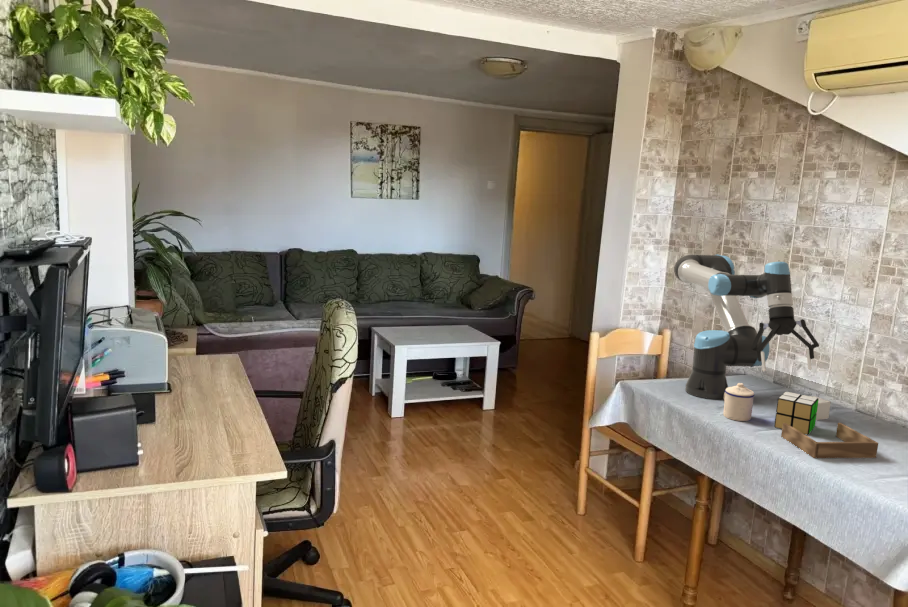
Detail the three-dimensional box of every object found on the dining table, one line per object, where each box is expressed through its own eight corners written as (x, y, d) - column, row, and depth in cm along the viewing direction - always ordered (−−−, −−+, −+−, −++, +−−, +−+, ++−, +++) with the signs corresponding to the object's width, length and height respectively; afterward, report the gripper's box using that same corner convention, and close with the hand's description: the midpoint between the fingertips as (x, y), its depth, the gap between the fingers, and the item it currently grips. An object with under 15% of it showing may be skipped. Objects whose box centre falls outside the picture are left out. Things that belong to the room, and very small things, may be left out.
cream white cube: (828, 418, 217) (830, 401, 216) (815, 420, 215) (818, 403, 214) (812, 412, 222) (815, 396, 221) (800, 414, 220) (802, 397, 219)
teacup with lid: (757, 421, 212) (761, 387, 210) (733, 422, 210) (737, 388, 208) (735, 408, 224) (738, 376, 222) (711, 410, 222) (715, 377, 220)
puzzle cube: (781, 419, 215) (785, 391, 213) (815, 427, 208) (819, 397, 207) (773, 427, 207) (777, 398, 205) (808, 435, 201) (812, 405, 199)
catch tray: (781, 436, 199) (782, 423, 198) (838, 436, 201) (840, 422, 200) (813, 458, 183) (815, 443, 182) (876, 457, 185) (878, 443, 184)
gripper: (738, 309, 221) (744, 371, 217) (821, 301, 207) (829, 367, 203) (742, 312, 227) (748, 372, 223) (823, 305, 213) (830, 369, 209)
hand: (786, 370), depth 213 cm, fingers open, 13 cm apart
